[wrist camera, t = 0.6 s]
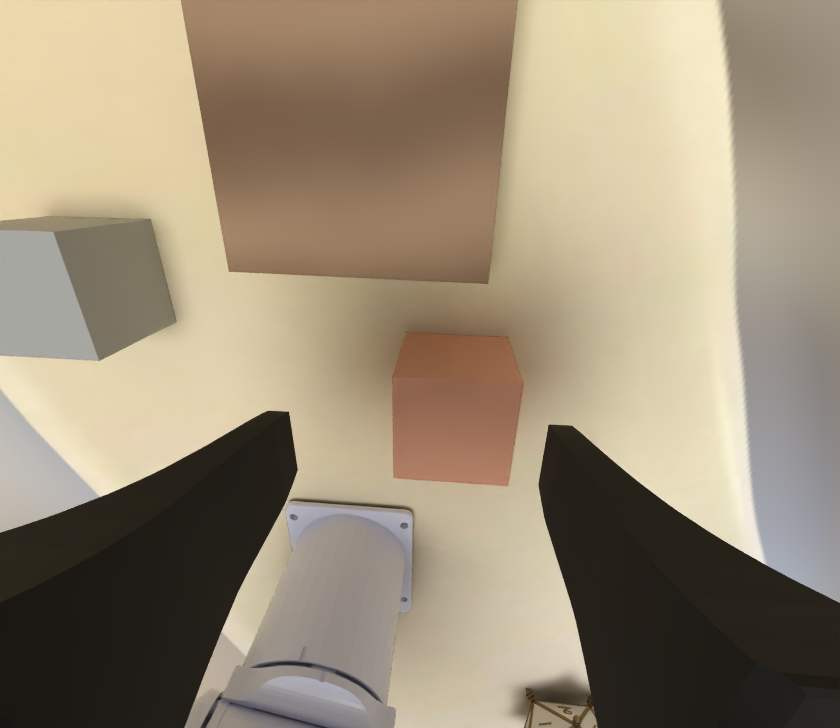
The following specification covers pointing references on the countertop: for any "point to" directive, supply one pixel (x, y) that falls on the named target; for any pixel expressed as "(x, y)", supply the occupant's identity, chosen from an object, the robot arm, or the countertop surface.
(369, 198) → the walnut block
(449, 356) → the salmon pink cube
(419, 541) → the countertop surface
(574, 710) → the game die
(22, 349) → the grey cube
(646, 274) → the countertop surface
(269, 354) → the countertop surface
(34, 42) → the countertop surface
